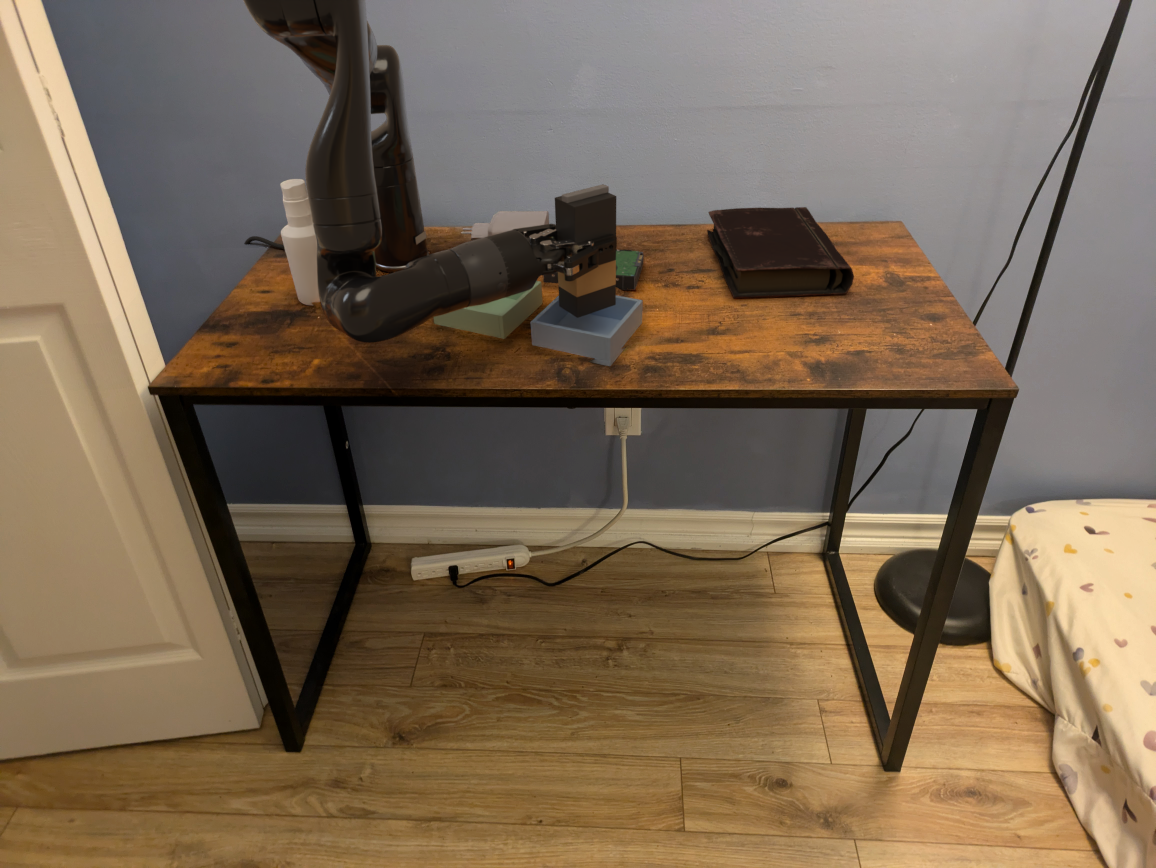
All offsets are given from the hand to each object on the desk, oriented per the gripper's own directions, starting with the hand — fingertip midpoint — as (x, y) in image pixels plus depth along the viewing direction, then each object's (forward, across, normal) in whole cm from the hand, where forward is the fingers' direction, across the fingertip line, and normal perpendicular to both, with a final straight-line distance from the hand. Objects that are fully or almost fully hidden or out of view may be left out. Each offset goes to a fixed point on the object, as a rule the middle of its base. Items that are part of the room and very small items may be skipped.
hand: (602, 236), depth 100 cm
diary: (+36, +2, +14) cm, 39 cm away
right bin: (-3, 0, +14) cm, 15 cm away
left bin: (-11, +14, +14) cm, 23 cm away
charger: (+5, +36, +14) cm, 40 cm away
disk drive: (+10, +16, +14) cm, 24 cm away
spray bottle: (-28, +37, +15) cm, 49 cm away
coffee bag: (-3, 0, +9) cm, 10 cm away
